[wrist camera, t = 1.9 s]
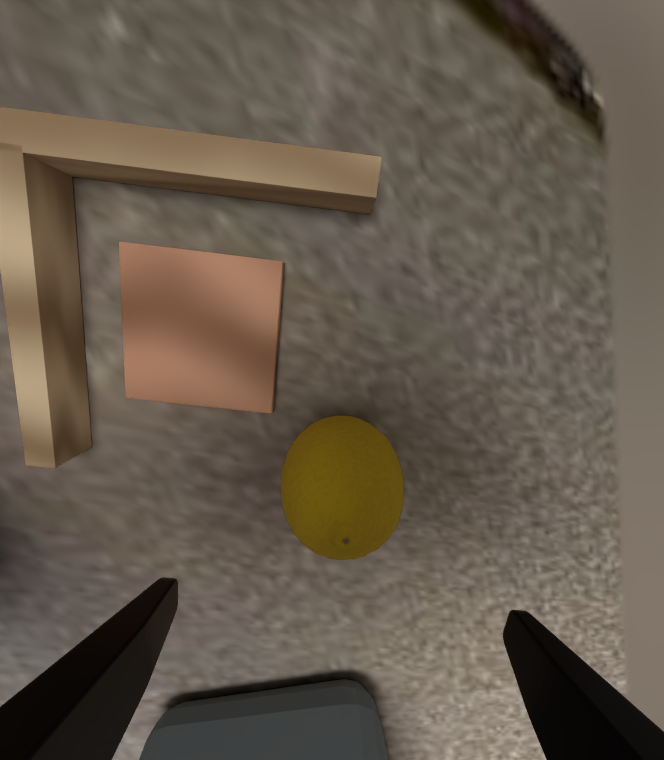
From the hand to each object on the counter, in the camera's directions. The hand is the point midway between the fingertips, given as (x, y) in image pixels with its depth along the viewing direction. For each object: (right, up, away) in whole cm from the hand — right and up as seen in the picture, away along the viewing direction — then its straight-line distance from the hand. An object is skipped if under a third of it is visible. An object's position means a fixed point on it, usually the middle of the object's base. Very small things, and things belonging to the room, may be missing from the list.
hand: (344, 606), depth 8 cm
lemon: (0, +3, +10) cm, 11 cm away
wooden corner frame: (-7, +9, +8) cm, 14 cm away
